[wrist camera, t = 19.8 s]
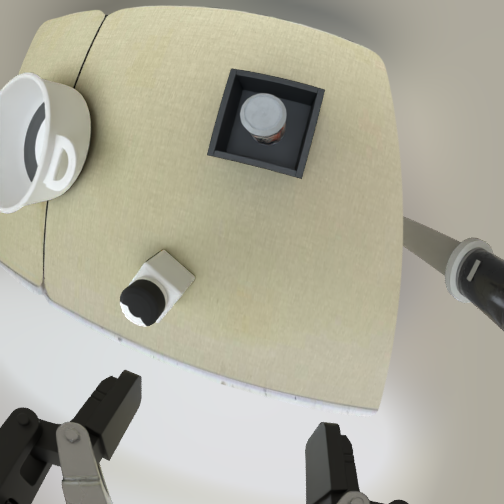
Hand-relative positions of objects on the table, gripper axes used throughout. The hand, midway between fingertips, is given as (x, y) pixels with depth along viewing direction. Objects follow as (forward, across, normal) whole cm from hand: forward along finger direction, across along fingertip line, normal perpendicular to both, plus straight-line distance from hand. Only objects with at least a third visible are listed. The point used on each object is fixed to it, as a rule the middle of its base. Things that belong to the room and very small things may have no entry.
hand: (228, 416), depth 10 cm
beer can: (+32, -4, +15) cm, 36 cm away
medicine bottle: (+33, -14, -11) cm, 38 cm away
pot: (+33, -43, +8) cm, 55 cm away
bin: (+33, -4, +16) cm, 37 cm away
